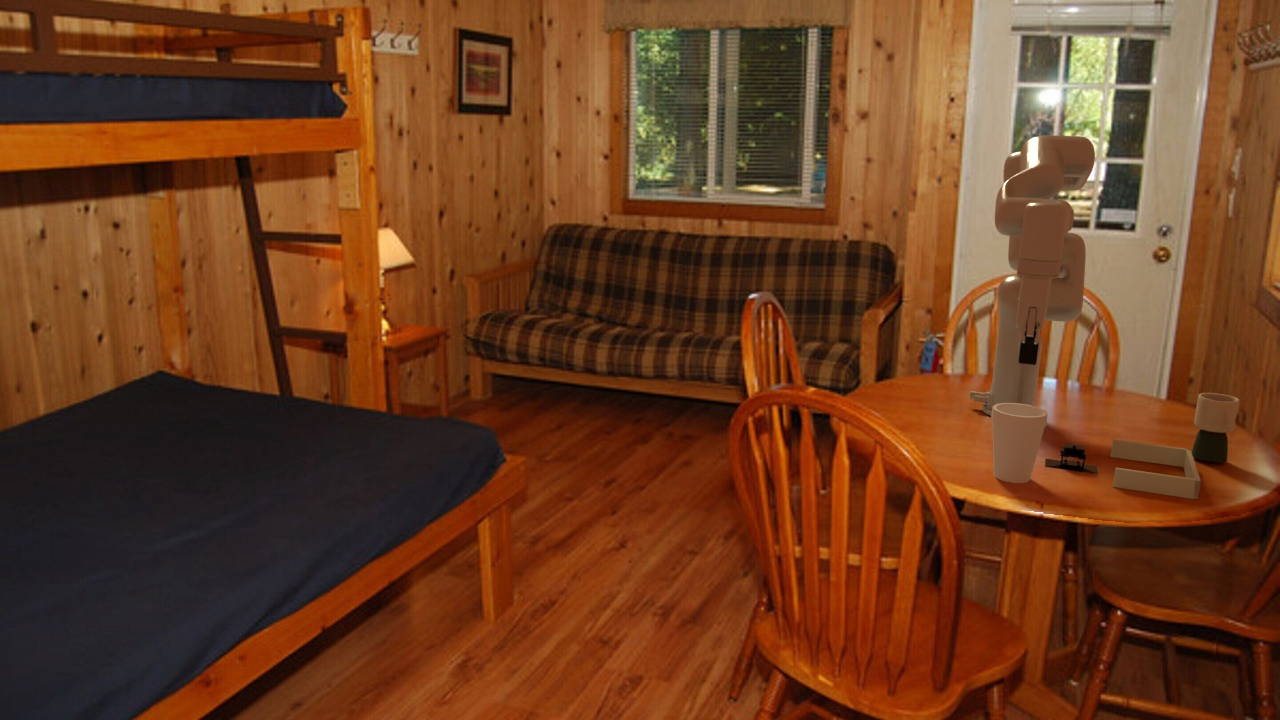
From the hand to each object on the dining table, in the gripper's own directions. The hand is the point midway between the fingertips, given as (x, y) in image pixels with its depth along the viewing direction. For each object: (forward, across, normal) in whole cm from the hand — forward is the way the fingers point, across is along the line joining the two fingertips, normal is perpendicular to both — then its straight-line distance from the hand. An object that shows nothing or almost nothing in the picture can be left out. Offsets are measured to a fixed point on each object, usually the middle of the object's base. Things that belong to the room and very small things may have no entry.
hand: (1027, 362), depth 192 cm
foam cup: (+19, +13, 0) cm, 23 cm away
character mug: (+19, -16, +35) cm, 43 cm away
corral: (+19, 0, +24) cm, 31 cm away
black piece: (+20, +1, +10) cm, 22 cm away
